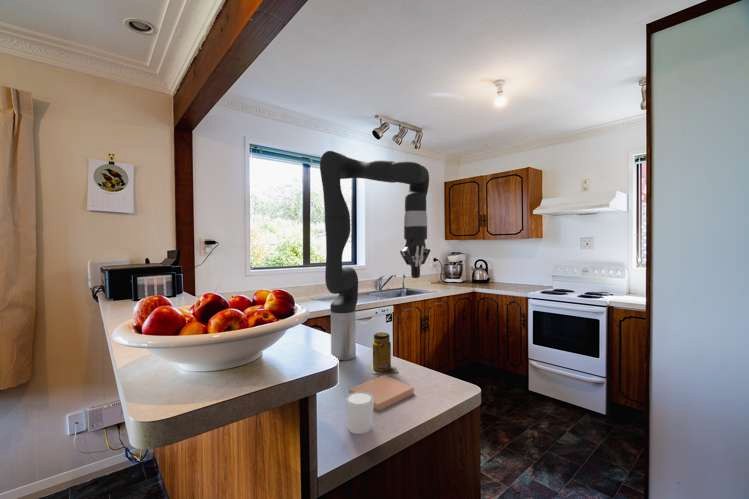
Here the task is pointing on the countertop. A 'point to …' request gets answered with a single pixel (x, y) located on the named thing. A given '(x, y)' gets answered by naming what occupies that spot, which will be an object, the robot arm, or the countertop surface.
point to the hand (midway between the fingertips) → (415, 277)
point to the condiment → (382, 354)
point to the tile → (384, 391)
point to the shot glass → (359, 412)
